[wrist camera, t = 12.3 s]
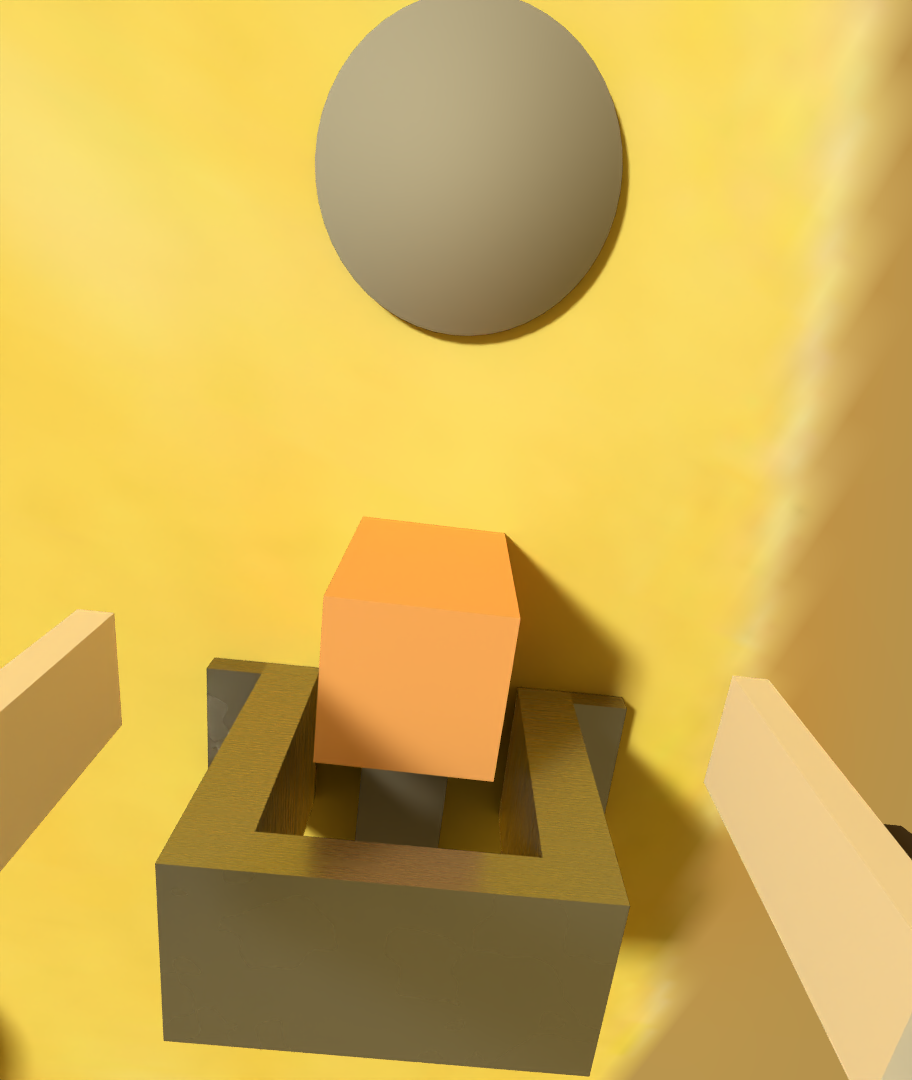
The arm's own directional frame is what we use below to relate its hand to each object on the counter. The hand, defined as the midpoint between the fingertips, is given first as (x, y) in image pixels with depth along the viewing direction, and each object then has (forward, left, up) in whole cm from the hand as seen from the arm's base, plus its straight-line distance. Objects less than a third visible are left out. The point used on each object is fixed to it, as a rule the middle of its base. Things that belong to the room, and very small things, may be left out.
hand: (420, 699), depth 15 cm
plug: (0, -8, -10) cm, 13 cm away
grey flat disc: (0, +12, -10) cm, 15 cm away
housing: (0, -8, -10) cm, 13 cm away
